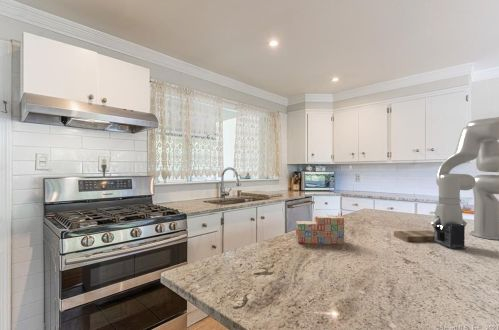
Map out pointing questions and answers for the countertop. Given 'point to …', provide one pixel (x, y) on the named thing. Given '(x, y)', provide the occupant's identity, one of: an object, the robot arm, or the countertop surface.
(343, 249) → the countertop surface
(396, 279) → the countertop surface
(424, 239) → the walnut board
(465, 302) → the countertop surface
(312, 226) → the stack of blocks
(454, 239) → the small box
